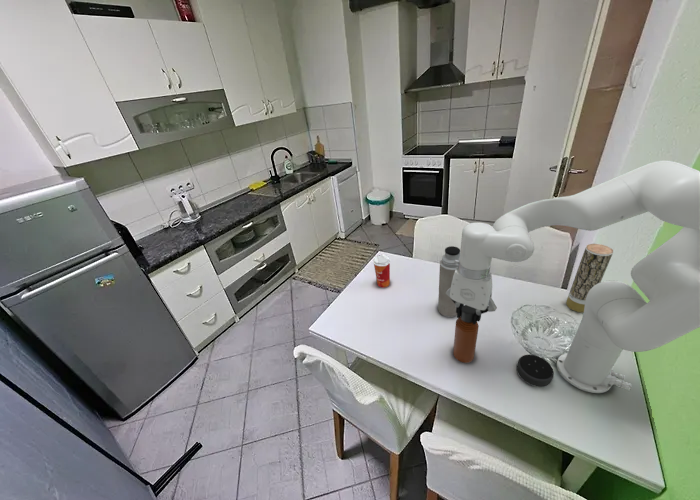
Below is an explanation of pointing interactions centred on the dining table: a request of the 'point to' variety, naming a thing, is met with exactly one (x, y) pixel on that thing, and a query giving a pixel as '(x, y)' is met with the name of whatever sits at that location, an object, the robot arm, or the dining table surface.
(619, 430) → the dining table surface
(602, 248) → the paper tube
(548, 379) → the smart speaker
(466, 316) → the cap
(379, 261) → the paper cup
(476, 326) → the sauce bottle
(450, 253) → the thermos bottle
